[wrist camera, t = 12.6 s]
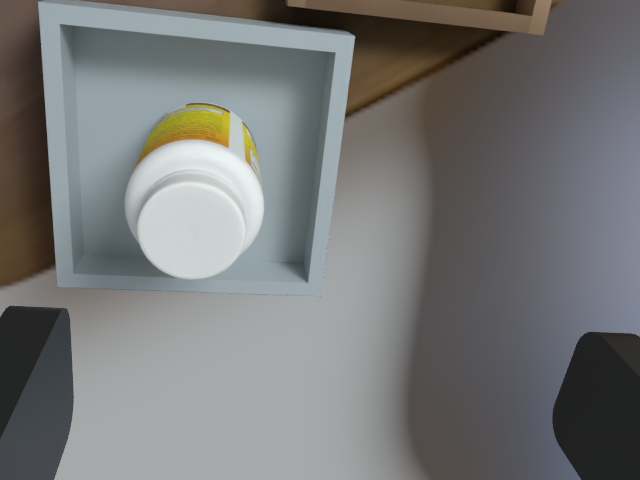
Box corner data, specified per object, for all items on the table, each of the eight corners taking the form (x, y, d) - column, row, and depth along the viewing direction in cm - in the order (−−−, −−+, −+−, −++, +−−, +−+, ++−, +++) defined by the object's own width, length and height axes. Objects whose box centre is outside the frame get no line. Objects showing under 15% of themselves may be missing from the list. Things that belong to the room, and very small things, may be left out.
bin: (57, -3, 28) (38, 1, 25) (344, 29, 30) (355, 36, 28) (71, 261, 34) (57, 287, 31) (314, 271, 36) (321, 296, 33)
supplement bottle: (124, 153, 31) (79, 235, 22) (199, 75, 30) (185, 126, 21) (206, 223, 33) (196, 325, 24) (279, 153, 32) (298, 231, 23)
